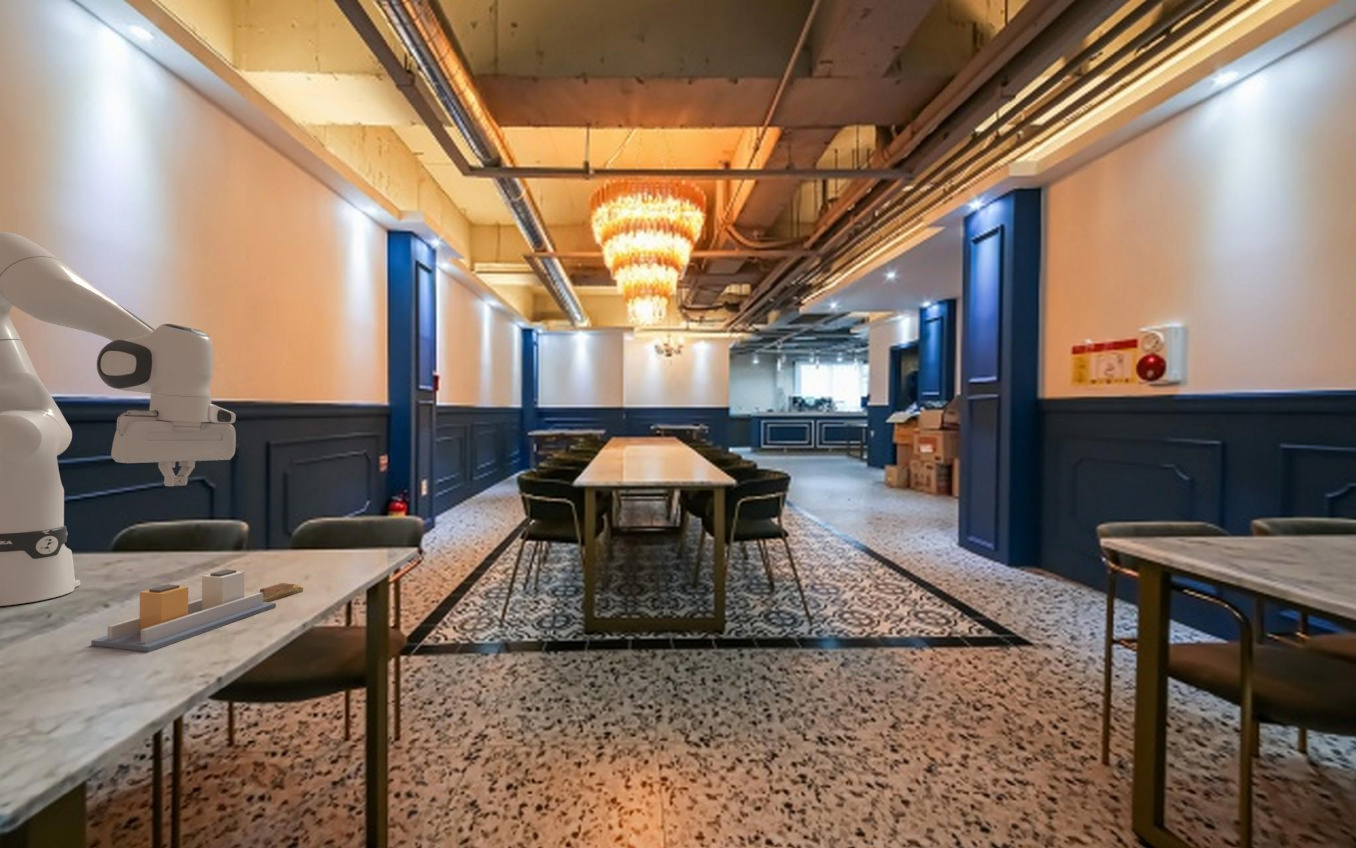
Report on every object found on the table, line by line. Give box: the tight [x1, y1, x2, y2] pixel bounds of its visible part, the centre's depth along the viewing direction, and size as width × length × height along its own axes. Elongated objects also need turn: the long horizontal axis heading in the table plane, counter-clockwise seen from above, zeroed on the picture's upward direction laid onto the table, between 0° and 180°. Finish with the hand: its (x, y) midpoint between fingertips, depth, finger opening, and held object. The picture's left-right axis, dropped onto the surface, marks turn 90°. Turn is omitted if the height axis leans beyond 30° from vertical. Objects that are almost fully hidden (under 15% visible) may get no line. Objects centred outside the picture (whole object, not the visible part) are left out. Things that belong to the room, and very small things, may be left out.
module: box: [139, 583, 189, 633], centre depth 106 cm, size 5×4×7 cm
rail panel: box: [90, 569, 277, 653], centre depth 110 cm, size 12×24×8 cm, turn 168°
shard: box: [259, 582, 304, 603], centre depth 128 cm, size 11×8×2 cm
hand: (175, 485), depth 112 cm, fingers closed
